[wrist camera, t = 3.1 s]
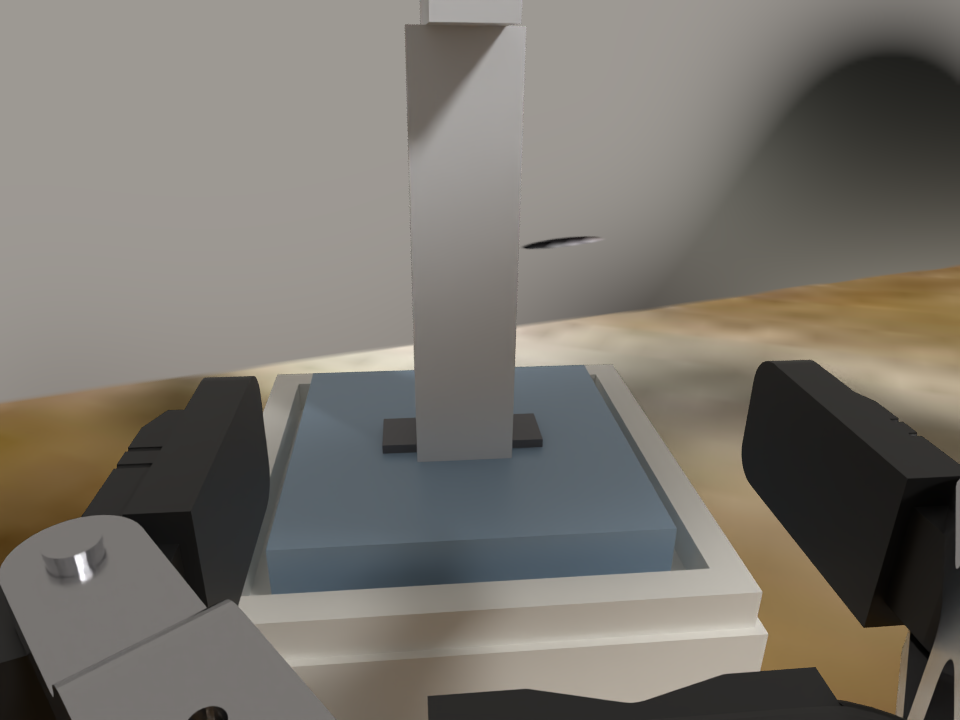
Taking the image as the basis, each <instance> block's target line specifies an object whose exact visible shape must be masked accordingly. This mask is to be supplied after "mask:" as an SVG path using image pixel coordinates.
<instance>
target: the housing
mask: <svg viewBox="0 0 960 720" xmlns="http://www.w3.org/2000/svg"><path fill="white" fill-rule="evenodd" d="M584 366H585V367H586V369H587V371H588V373H589V374H590V376H591V378H592V380H593V382H594V383H595V385H596V387H597V389H598V390H599V392H600V394H601V396H602V397H603V399H604V401H605V403H606V404H607V406H608V408H609V410H610V411H611V413H612V415H613V417H614V419H615V420H616V422H617V424H618V426H619V427H620V429H621V431H622V433H623V434H624V436H625V438H626V440H627V441H628V443H629V445H630V447H631V448H632V450H633V452H634V454H635V456H636V457H637V459H638V461H639V463H640V464H641V466H642V468H643V470H644V471H645V473H646V475H647V477H648V478H649V480H650V482H651V484H652V485H653V487H654V489H655V491H656V493H657V494H658V496H659V498H660V500H661V501H662V503H663V505H664V507H665V508H666V510H667V512H668V514H669V515H670V517H671V519H672V521H673V522H674V524H675V526H676V528H677V532H676V538H675V545H674V552H673V559H672V566H671V571H661V572H644V573H627V574H610V575H593V576H577V577H560V578H543V579H526V580H509V581H492V582H476V583H459V584H442V585H425V586H408V587H391V588H374V589H358V590H341V591H324V592H307V593H290V594H273V595H271V587H270V580H269V572H268V565H267V557H266V547H267V543H268V540H269V536H270V532H271V529H272V525H273V521H274V518H275V514H276V510H277V506H278V503H279V499H280V495H281V492H282V488H283V484H284V480H285V477H286V473H287V469H288V466H289V462H290V458H291V454H292V451H293V447H294V443H295V440H296V436H297V432H298V428H299V425H300V421H301V417H302V414H303V410H304V406H305V402H306V399H307V395H308V391H309V388H310V384H311V380H312V376H313V373H312V374H280V375H277V377H276V380H275V382H274V385H273V388H272V390H271V393H270V396H269V398H268V401H267V404H266V406H265V409H264V412H263V419H264V427H265V435H266V443H267V451H268V459H269V469H270V490H269V500H268V505H267V509H266V512H265V515H264V519H263V522H262V526H261V529H260V533H259V536H258V540H257V543H256V546H255V550H254V553H253V557H252V560H251V564H250V567H249V570H248V574H247V577H246V581H245V584H244V588H243V591H242V595H241V598H240V601H239V605H238V607H239V608H240V609H241V610H242V611H243V612H244V613H245V614H246V616H247V617H248V618H249V619H250V620H251V621H252V623H253V624H254V625H255V626H256V627H257V628H258V629H259V631H260V632H261V633H262V634H263V635H264V636H265V638H266V639H267V640H268V641H269V642H270V643H271V645H272V646H273V647H274V648H275V649H276V650H277V651H278V653H279V654H280V655H281V656H282V657H283V658H284V660H285V661H286V662H287V663H288V664H289V665H290V667H291V668H292V669H293V670H294V671H295V672H296V673H297V675H298V676H299V677H300V678H301V679H302V680H303V682H304V683H305V684H306V685H307V686H308V687H309V689H310V690H311V691H312V692H313V693H314V694H315V695H316V697H317V698H318V699H319V700H320V701H321V702H322V704H323V705H324V706H325V707H326V708H327V709H328V711H329V712H330V713H331V714H332V715H333V716H334V718H335V719H336V720H428V697H427V696H434V695H448V694H461V693H474V692H488V691H501V690H515V689H533V690H540V691H547V692H554V693H561V694H568V695H575V696H582V697H590V698H597V699H604V700H611V701H618V702H627V703H634V702H641V701H645V700H648V699H651V698H654V697H657V696H660V695H663V694H666V693H669V692H672V691H674V690H677V689H680V688H683V687H686V686H689V685H692V684H695V683H698V682H701V681H704V680H707V679H710V678H713V677H716V676H719V675H722V674H730V673H744V672H757V671H760V669H761V664H762V660H763V655H764V651H765V646H766V642H767V638H768V633H767V631H766V630H765V628H764V626H763V625H762V623H761V622H760V620H759V618H758V617H757V615H758V611H759V606H760V601H761V597H762V591H761V589H760V588H759V586H758V585H757V583H756V581H755V580H754V578H753V577H752V575H751V574H750V572H749V571H748V569H747V568H746V566H745V565H744V563H743V562H742V560H741V559H740V557H739V556H738V554H737V553H736V551H735V550H734V548H733V547H732V545H731V543H730V542H729V540H728V539H727V537H726V536H725V534H724V533H723V531H722V530H721V528H720V527H719V525H718V524H717V522H716V521H715V519H714V518H713V516H712V515H711V513H710V512H709V510H708V509H707V507H706V505H705V504H704V502H703V501H702V499H701V498H700V496H699V495H698V493H697V492H696V490H695V489H694V487H693V486H692V484H691V483H690V481H689V480H688V478H687V477H686V475H685V474H684V472H683V470H682V469H681V467H680V466H679V464H678V463H677V461H676V460H675V458H674V457H673V455H672V454H671V452H670V451H669V449H668V448H667V446H666V445H665V443H664V442H663V440H662V439H661V437H660V436H659V434H658V432H657V431H656V429H655V428H654V426H653V425H652V423H651V422H650V420H649V419H648V417H647V416H646V414H645V413H644V411H643V410H642V408H641V407H640V405H639V404H638V402H637V401H636V399H635V398H634V396H633V394H632V393H631V391H630V390H629V388H628V387H627V385H626V384H625V382H624V381H623V379H622V378H621V376H620V375H619V373H618V372H617V370H616V369H615V367H614V366H613V364H603V365H584Z"/></svg>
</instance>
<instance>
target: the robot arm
mask: <svg viewBox="0 0 960 720" xmlns="http://www.w3.org/2000/svg"><path fill="white" fill-rule="evenodd" d="M742 464H743V469H744V472H745V475H746V478H747V480H748V482H749V483H750V485H751V486H752V487H753V489H754V490H755V491H756V492H757V494H758V495H759V496H760V497H761V499H762V500H763V501H764V502H765V504H766V505H767V506H768V508H769V509H770V510H771V511H772V513H773V514H774V515H775V516H776V518H777V519H778V520H779V521H780V523H781V524H782V525H783V526H784V528H785V529H786V530H787V531H788V533H789V534H790V535H791V537H792V538H793V539H794V540H795V542H796V543H797V544H798V545H799V547H800V548H801V549H802V550H803V552H804V553H805V554H806V555H807V557H808V558H809V559H810V560H811V562H812V563H813V564H814V566H815V567H816V568H817V569H818V571H819V572H820V573H821V574H822V576H823V577H824V578H825V579H826V581H827V582H828V583H829V584H830V586H831V587H832V588H833V590H834V591H835V592H836V593H837V595H838V596H839V597H840V598H841V600H842V601H843V602H844V603H845V605H846V606H847V607H848V608H849V610H850V611H851V612H852V613H853V615H854V616H855V617H856V619H857V620H858V621H859V622H860V624H861V625H862V626H863V627H864V628H867V627H881V626H896V625H905V626H906V627H907V628H908V629H909V630H908V633H907V637H906V640H905V643H904V646H903V649H902V653H901V663H900V674H899V684H898V694H897V705H896V715H894V714H891V713H888V712H885V711H882V710H879V709H876V708H873V707H869V706H865V705H861V704H856V703H852V702H848V701H843V700H837V699H836V697H835V696H834V694H833V693H832V691H831V690H830V688H829V687H828V685H827V684H826V682H825V681H824V679H823V678H822V676H821V675H820V673H819V672H818V670H817V669H816V667H811V668H798V669H784V670H771V671H757V672H744V673H730V674H722V675H719V676H716V677H713V678H710V679H707V680H704V681H701V682H698V683H695V684H692V685H689V686H686V687H683V688H680V689H677V690H674V691H672V692H669V693H666V694H663V695H660V696H657V697H654V698H651V699H648V700H645V701H641V702H634V703H627V702H618V701H611V700H604V699H597V698H590V697H582V696H575V695H568V694H561V693H554V692H547V691H540V690H533V689H515V690H501V691H488V692H474V693H461V694H448V695H434V696H427V697H428V720H960V464H958V463H957V462H956V461H954V460H953V459H952V458H950V457H949V456H948V455H946V454H945V453H944V452H942V451H941V450H940V449H938V448H937V447H936V446H934V445H933V444H932V443H930V442H929V441H928V440H926V439H925V438H924V437H922V436H917V432H916V431H914V430H913V429H912V428H910V427H909V426H908V425H906V424H905V423H904V422H899V421H898V418H897V417H896V416H894V415H893V414H892V413H890V412H889V411H888V410H886V409H885V408H884V407H882V406H881V405H880V404H879V403H877V402H876V401H873V400H871V399H869V398H867V397H865V396H862V395H860V394H858V393H856V392H854V391H852V390H851V389H850V388H849V387H847V386H846V385H845V384H843V383H842V382H841V381H839V380H838V379H837V378H836V377H834V376H833V375H832V374H830V373H829V372H828V371H826V370H825V369H824V368H822V367H821V366H820V365H819V364H817V363H816V362H814V361H812V360H791V361H765V362H763V363H762V364H761V365H760V366H759V367H758V369H757V371H756V374H755V378H754V383H753V388H752V394H751V399H750V405H749V410H748V416H747V421H746V427H745V432H744V438H743V443H742ZM269 490H270V469H269V459H268V451H267V443H266V435H265V427H264V419H263V411H262V403H261V395H260V389H259V384H258V381H257V379H256V377H255V376H244V377H212V378H204V379H203V380H202V381H201V383H200V384H199V386H198V388H197V389H196V391H195V393H194V394H193V396H192V398H191V400H190V401H189V403H188V405H187V406H186V408H185V410H167V411H166V412H164V413H163V414H161V415H160V416H159V417H157V418H156V419H154V420H153V421H151V422H150V423H148V424H147V425H145V426H144V427H142V428H141V430H140V431H139V433H138V434H137V435H136V437H135V438H134V440H133V441H132V443H131V444H130V446H129V447H128V452H125V453H124V455H123V456H122V458H121V459H120V461H119V462H118V464H117V469H113V471H112V472H111V474H110V475H109V477H108V478H107V480H106V481H105V483H104V484H103V486H102V487H101V489H100V490H99V492H98V493H97V495H96V496H95V497H94V499H93V500H92V502H91V503H90V505H89V506H88V508H87V509H86V511H85V512H84V514H83V515H82V517H81V518H76V519H72V520H68V521H65V522H62V523H59V524H56V525H54V526H51V527H49V528H47V529H44V530H42V531H40V532H38V533H36V534H35V535H33V536H31V537H30V538H28V539H27V540H25V541H23V542H22V543H21V544H20V545H18V546H17V547H16V548H15V549H14V550H13V551H12V552H11V553H10V554H9V555H8V556H7V557H6V559H5V560H4V562H3V563H2V565H1V568H0V720H336V719H335V718H334V716H333V715H332V714H331V713H330V712H329V711H328V709H327V708H326V707H325V706H324V705H323V704H322V702H321V701H320V700H319V699H318V698H317V697H316V695H315V694H314V693H313V692H312V691H311V690H310V689H309V687H308V686H307V685H306V684H305V683H304V682H303V680H302V679H301V678H300V677H299V676H298V675H297V673H296V672H295V671H294V670H293V669H292V668H291V667H290V665H289V664H288V663H287V662H286V661H285V660H284V658H283V657H282V656H281V655H280V654H279V653H278V651H277V650H276V649H275V648H274V647H273V646H272V645H271V643H270V642H269V641H268V640H267V639H266V638H265V636H264V635H263V634H262V633H261V632H260V631H259V629H258V628H257V627H256V626H255V625H254V624H253V623H252V621H251V620H250V619H249V618H248V617H247V616H246V614H245V613H244V612H243V611H242V610H241V609H240V608H239V607H238V605H239V601H240V598H241V595H242V591H243V588H244V584H245V581H246V577H247V574H248V570H249V567H250V564H251V560H252V557H253V553H254V550H255V546H256V543H257V540H258V536H259V533H260V529H261V526H262V522H263V519H264V515H265V512H266V509H267V505H268V500H269Z"/></svg>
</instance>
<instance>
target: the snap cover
mask: <svg viewBox="0 0 960 720" xmlns="http://www.w3.org/2000/svg"><path fill="white" fill-rule="evenodd" d="M521 22H522V0H420V25H408V24H407V25H405V52H406V85H407V86H406V87H407V121H408V122H407V123H408V157H409V158H408V159H409V193H410V230H411V261H412V262H411V263H412V264H411V265H412V301H413V334H414V370H406V371H374V372H342V373H313V376H312V380H311V384H310V388H309V391H308V395H307V399H306V402H305V406H304V410H303V414H302V417H301V421H300V425H299V428H298V432H297V436H296V440H295V443H294V447H293V451H292V454H291V458H290V462H289V466H288V469H287V473H286V477H285V480H284V484H283V488H282V492H281V495H280V499H279V503H278V506H277V510H276V514H275V518H274V521H273V525H272V529H271V532H270V536H269V540H268V543H267V547H266V557H267V565H268V572H269V580H270V587H271V595H273V594H290V593H307V592H324V591H341V590H358V589H374V588H391V587H408V586H425V585H442V584H459V583H476V582H492V581H509V580H526V579H543V578H560V577H577V576H593V575H610V574H627V573H644V572H661V571H671V566H672V559H673V552H674V545H675V538H676V532H677V528H676V526H675V524H674V522H673V521H672V519H671V517H670V515H669V514H668V512H667V510H666V508H665V507H664V505H663V503H662V501H661V500H660V498H659V496H658V494H657V493H656V491H655V489H654V487H653V485H652V484H651V482H650V480H649V478H648V477H647V475H646V473H645V471H644V470H643V468H642V466H641V464H640V463H639V461H638V459H637V457H636V456H635V454H634V452H633V450H632V448H631V447H630V445H629V443H628V441H627V440H626V438H625V436H624V434H623V433H622V431H621V429H620V427H619V426H618V424H617V422H616V420H615V419H614V417H613V415H612V413H611V411H610V410H609V408H608V406H607V404H606V403H605V401H604V399H603V397H602V396H601V394H600V392H599V390H598V389H597V387H596V385H595V383H594V382H593V380H592V378H591V376H590V374H589V373H588V371H587V369H586V367H585V366H584V365H568V366H536V367H515V347H516V316H517V286H518V256H519V255H518V254H519V227H520V224H519V223H520V197H521V166H522V136H523V106H524V76H525V74H524V73H525V47H526V26H509V25H514V24H520V23H521Z"/></svg>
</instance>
